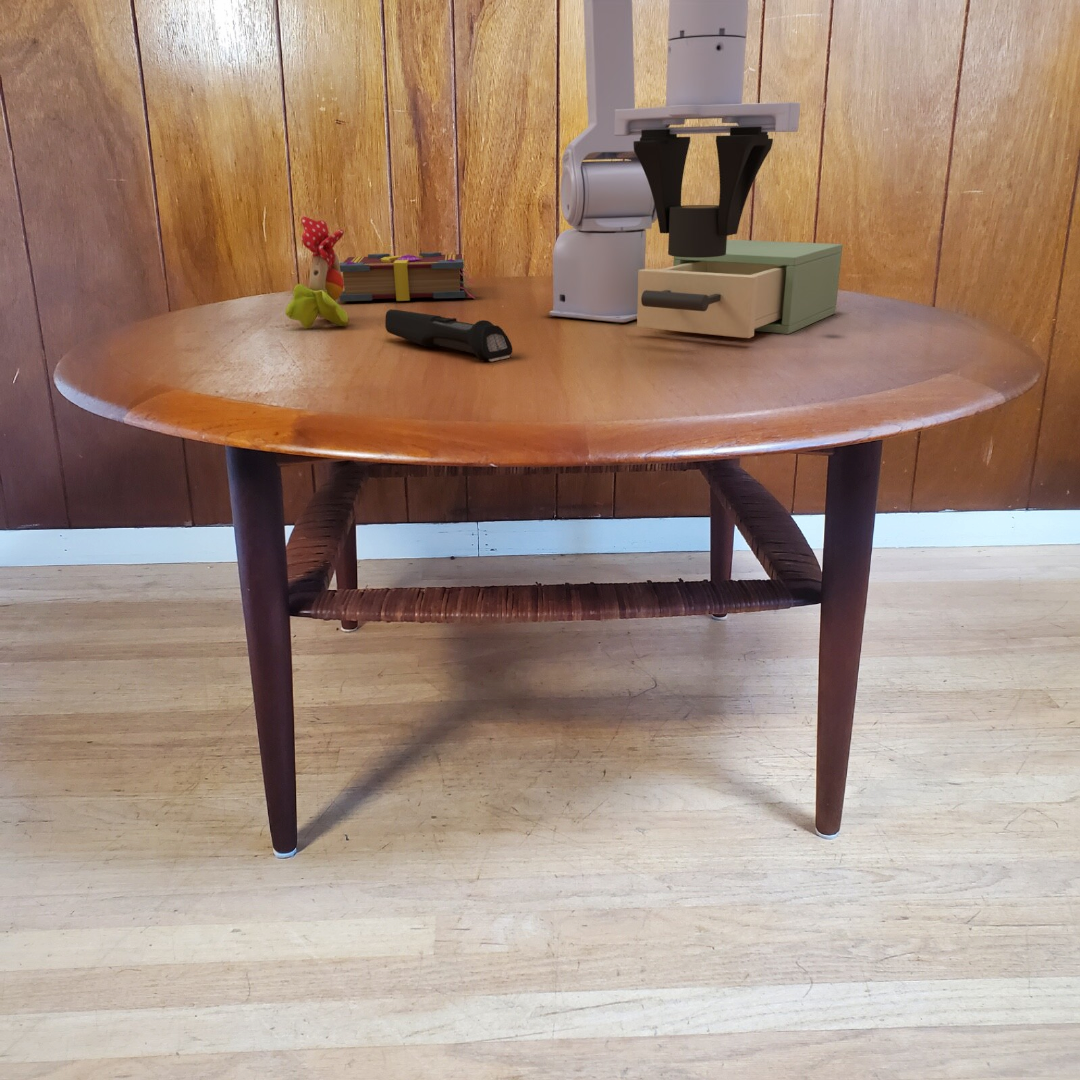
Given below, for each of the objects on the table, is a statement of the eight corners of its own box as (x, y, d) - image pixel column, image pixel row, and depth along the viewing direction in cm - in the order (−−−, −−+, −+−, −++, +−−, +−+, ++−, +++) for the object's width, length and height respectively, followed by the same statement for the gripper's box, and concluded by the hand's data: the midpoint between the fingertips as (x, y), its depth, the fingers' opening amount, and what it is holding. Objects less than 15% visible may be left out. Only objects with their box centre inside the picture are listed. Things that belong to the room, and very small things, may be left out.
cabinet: (788, 334, 88) (795, 257, 85) (670, 323, 95) (673, 251, 92) (835, 313, 98) (843, 244, 95) (726, 304, 105) (730, 239, 102)
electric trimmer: (408, 337, 91) (406, 304, 90) (516, 356, 81) (514, 319, 79) (377, 343, 89) (374, 309, 87) (484, 363, 78) (482, 326, 77)
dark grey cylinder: (657, 256, 73) (659, 207, 72) (684, 250, 77) (686, 204, 75) (710, 258, 71) (713, 209, 70) (735, 253, 74) (738, 205, 73)
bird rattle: (301, 340, 101) (279, 319, 92) (300, 239, 101) (278, 208, 92) (358, 339, 101) (342, 318, 92) (357, 238, 101) (340, 208, 92)
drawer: (729, 346, 79) (733, 282, 76) (614, 334, 85) (614, 275, 83) (799, 317, 91) (804, 262, 89) (694, 308, 97) (697, 256, 95)
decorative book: (350, 291, 121) (346, 251, 119) (473, 287, 122) (471, 248, 120) (340, 304, 110) (335, 261, 108) (474, 300, 111) (472, 257, 109)
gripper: (594, 44, 69) (593, 234, 74) (780, 27, 61) (763, 241, 66) (641, 50, 74) (636, 227, 79) (817, 36, 66) (799, 233, 72)
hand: (697, 233), depth 73 cm, fingers closed on dark grey cylinder, 4 cm apart
